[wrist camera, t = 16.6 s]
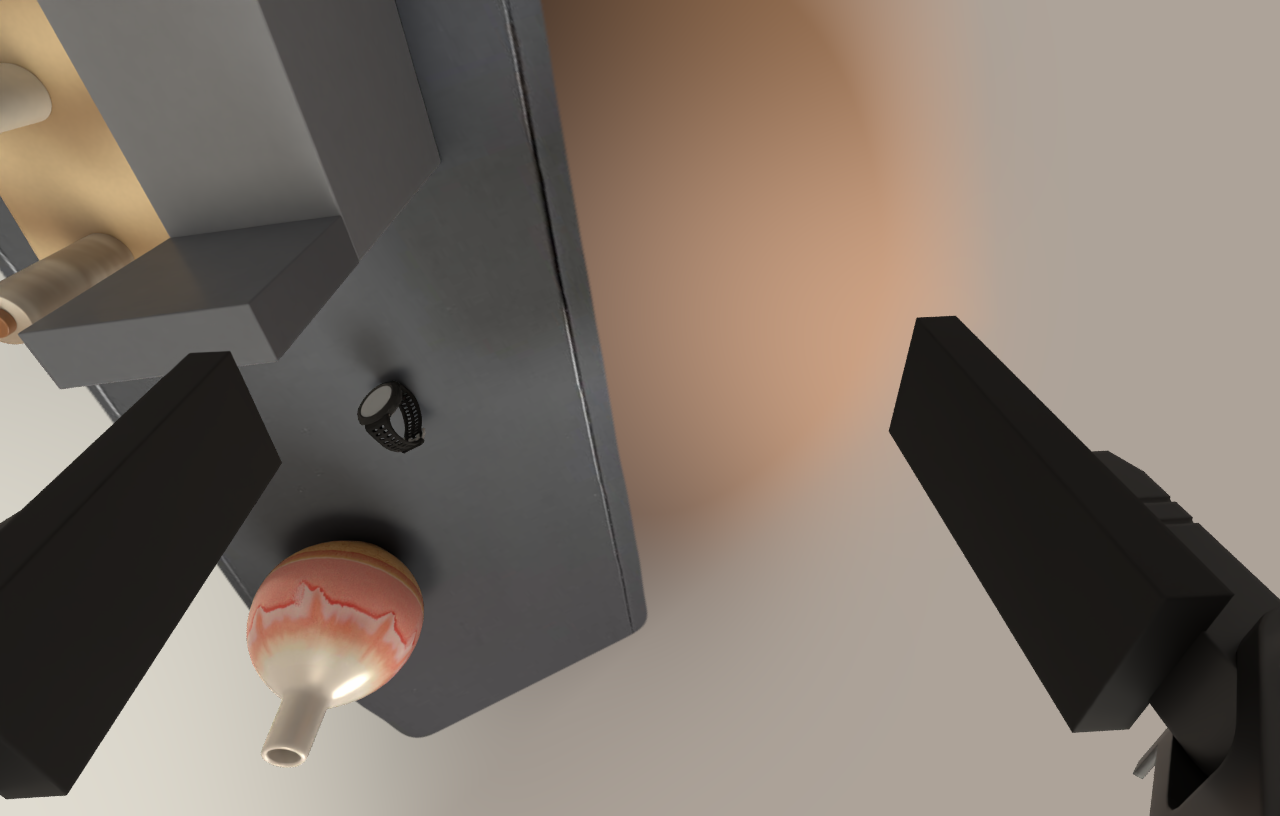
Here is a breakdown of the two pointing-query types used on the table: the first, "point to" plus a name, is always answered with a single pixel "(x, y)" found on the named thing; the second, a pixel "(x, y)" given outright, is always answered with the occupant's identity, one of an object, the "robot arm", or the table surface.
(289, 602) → the vase
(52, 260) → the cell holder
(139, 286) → the grey stand
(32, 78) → the white cell
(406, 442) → the smartwatch
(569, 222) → the table surface
